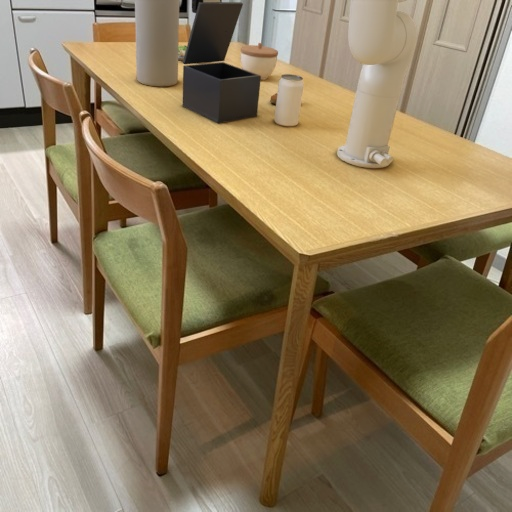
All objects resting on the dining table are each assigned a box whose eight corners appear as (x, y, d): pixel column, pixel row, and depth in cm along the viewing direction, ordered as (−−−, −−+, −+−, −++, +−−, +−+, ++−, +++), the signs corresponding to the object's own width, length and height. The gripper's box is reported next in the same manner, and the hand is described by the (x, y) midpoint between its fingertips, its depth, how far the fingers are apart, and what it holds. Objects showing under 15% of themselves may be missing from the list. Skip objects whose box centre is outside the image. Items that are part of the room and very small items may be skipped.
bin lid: (243, 3, 132) (231, -8, 134) (200, 3, 124) (188, -9, 126) (224, 61, 144) (213, 49, 146) (184, 64, 136) (173, 52, 138)
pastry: (279, 108, 149) (280, 95, 147) (264, 101, 154) (265, 88, 152) (302, 105, 155) (304, 92, 153) (287, 99, 159) (289, 86, 157)
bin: (257, 116, 141) (261, 75, 135) (218, 123, 133) (220, 80, 127) (220, 100, 150) (223, 61, 144) (182, 106, 142) (183, 65, 136)
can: (269, 122, 137) (275, 76, 131) (280, 117, 142) (286, 72, 136) (291, 128, 135) (298, 81, 129) (301, 123, 140) (308, 77, 134)
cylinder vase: (129, 83, 156) (126, -10, 143) (146, 74, 167) (145, -13, 153) (168, 89, 154) (169, -4, 141) (183, 80, 165) (185, -7, 151)
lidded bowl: (280, 82, 176) (285, 47, 170) (246, 82, 171) (249, 46, 165) (266, 72, 186) (270, 39, 180) (233, 72, 181) (236, 38, 175)
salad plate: (200, 67, 183) (201, 53, 180) (155, 58, 187) (155, 44, 184) (222, 58, 198) (222, 45, 196) (180, 50, 203) (180, 37, 200)
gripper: (190, -72, 116) (188, 16, 126) (246, -66, 127) (241, 15, 136) (170, -74, 121) (170, 11, 130) (227, -68, 131) (222, 10, 141)
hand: (206, 12), depth 133 cm, fingers closed on bin lid, 5 cm apart
